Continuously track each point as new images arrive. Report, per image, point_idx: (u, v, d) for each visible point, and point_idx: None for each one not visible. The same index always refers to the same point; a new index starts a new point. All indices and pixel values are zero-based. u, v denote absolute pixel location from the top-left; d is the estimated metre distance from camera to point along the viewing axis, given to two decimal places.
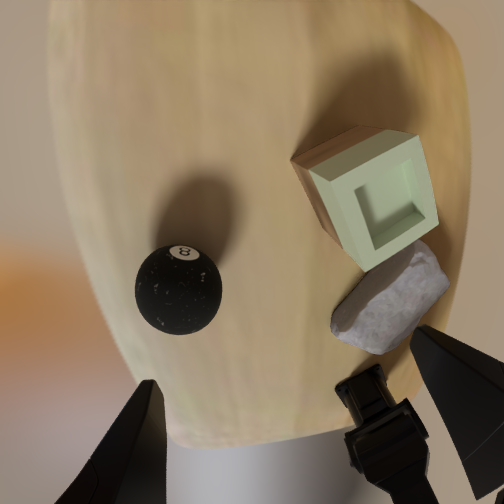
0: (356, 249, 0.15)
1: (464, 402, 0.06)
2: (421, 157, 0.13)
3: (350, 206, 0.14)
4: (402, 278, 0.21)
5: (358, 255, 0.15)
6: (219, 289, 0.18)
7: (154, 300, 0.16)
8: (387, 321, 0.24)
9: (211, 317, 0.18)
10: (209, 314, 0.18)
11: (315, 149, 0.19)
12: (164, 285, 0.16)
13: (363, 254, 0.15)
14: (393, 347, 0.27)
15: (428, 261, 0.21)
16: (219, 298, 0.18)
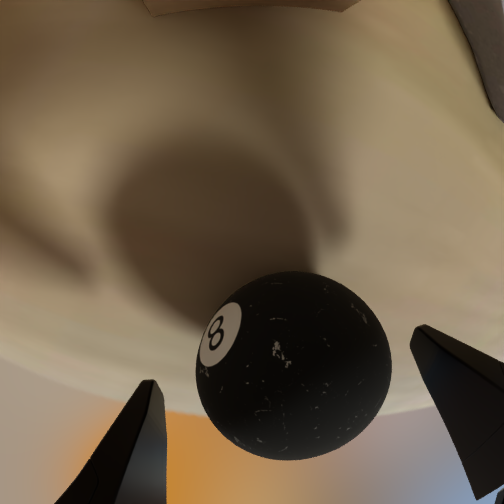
0: None
1: (464, 402, 0.06)
2: None
3: None
4: None
5: None
6: (342, 320, 0.06)
7: (263, 454, 0.06)
8: None
9: (384, 369, 0.06)
10: (373, 378, 0.06)
11: None
12: (243, 434, 0.06)
13: None
14: None
15: None
16: (361, 330, 0.06)
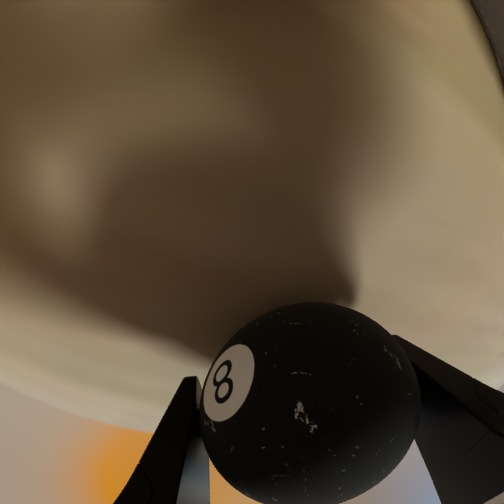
0: None
1: (432, 420, 0.06)
2: None
3: None
4: None
5: None
6: (376, 370, 0.05)
7: None
8: None
9: (416, 417, 0.05)
10: (406, 429, 0.05)
11: None
12: (256, 493, 0.05)
13: None
14: None
15: None
16: (396, 378, 0.05)
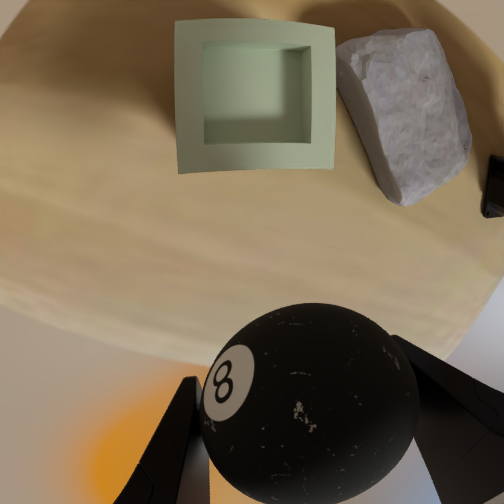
0: (292, 168, 0.11)
1: (433, 420, 0.06)
2: (210, 23, 0.08)
3: (224, 157, 0.10)
4: (374, 97, 0.13)
5: None
6: (375, 370, 0.05)
7: None
8: (426, 140, 0.15)
9: (415, 417, 0.05)
10: (405, 430, 0.05)
11: None
12: (256, 492, 0.05)
13: (305, 162, 0.11)
14: (469, 142, 0.16)
15: (372, 49, 0.11)
16: (395, 379, 0.05)
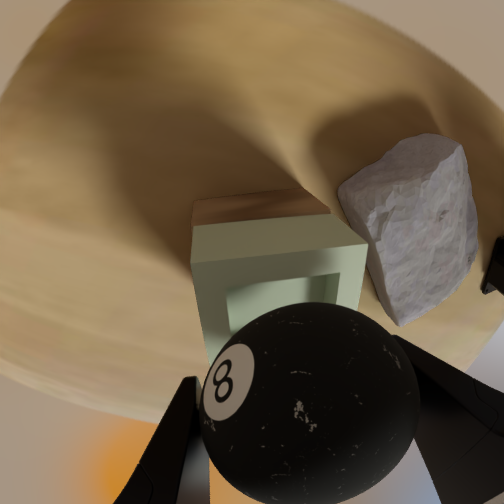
0: None
1: (432, 420, 0.06)
2: (232, 265, 0.09)
3: None
4: (386, 255, 0.14)
5: None
6: (375, 369, 0.05)
7: None
8: (431, 272, 0.16)
9: (415, 416, 0.05)
10: (406, 429, 0.05)
11: None
12: (255, 492, 0.05)
13: None
14: (474, 253, 0.17)
15: (392, 204, 0.13)
16: (395, 378, 0.05)
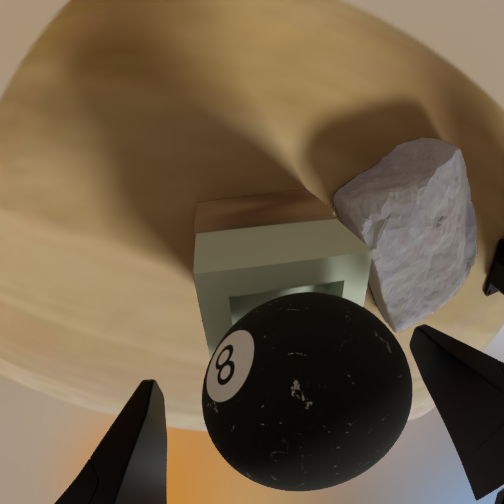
0: None
1: (464, 402, 0.06)
2: (235, 275, 0.09)
3: None
4: (381, 263, 0.14)
5: None
6: (367, 352, 0.06)
7: (276, 488, 0.05)
8: (429, 279, 0.16)
9: (407, 399, 0.05)
10: (397, 411, 0.05)
11: None
12: (256, 472, 0.05)
13: None
14: (473, 258, 0.17)
15: (388, 212, 0.13)
16: (386, 361, 0.06)
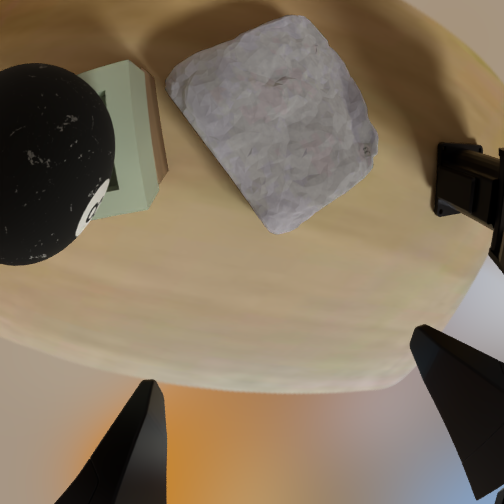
0: (110, 215, 0.11)
1: (464, 402, 0.06)
2: None
3: None
4: (200, 126, 0.13)
5: (120, 213, 0.11)
6: (16, 66, 0.04)
7: None
8: (292, 155, 0.15)
9: (33, 95, 0.04)
10: (10, 96, 0.04)
11: None
12: None
13: (118, 208, 0.10)
14: (373, 143, 0.16)
15: (193, 71, 0.11)
16: (27, 68, 0.04)
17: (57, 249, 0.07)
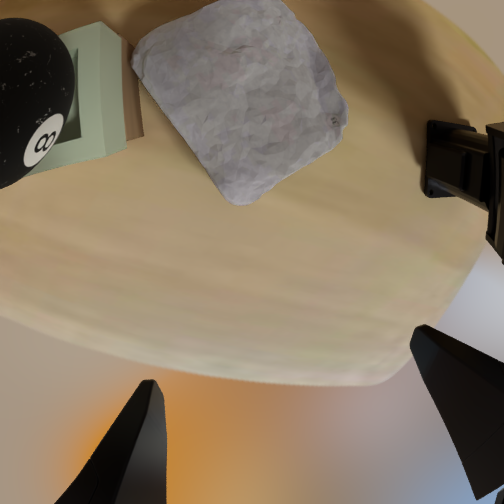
0: (71, 163, 0.10)
1: (464, 402, 0.06)
2: None
3: None
4: (157, 93, 0.12)
5: (81, 161, 0.10)
6: None
7: None
8: (250, 122, 0.14)
9: (4, 36, 0.03)
10: None
11: None
12: None
13: (79, 155, 0.10)
14: (342, 113, 0.15)
15: (153, 42, 0.11)
16: (6, 19, 0.03)
17: (6, 174, 0.06)
